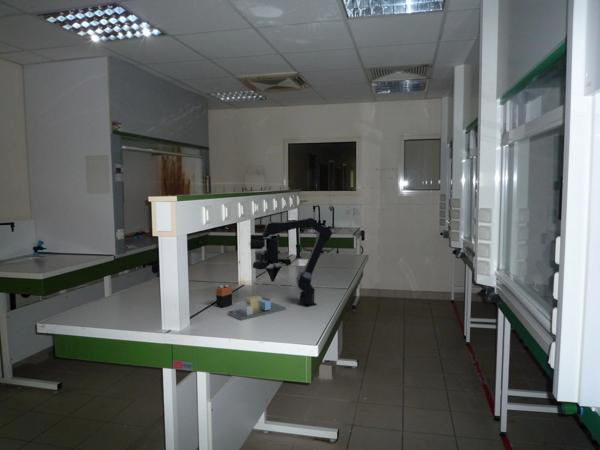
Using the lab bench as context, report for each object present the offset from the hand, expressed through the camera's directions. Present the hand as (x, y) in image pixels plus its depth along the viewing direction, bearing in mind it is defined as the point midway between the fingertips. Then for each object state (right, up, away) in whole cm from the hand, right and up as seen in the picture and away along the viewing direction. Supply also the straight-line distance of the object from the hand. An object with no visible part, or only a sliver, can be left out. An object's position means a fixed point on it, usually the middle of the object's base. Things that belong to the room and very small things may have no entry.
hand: (272, 281), depth 198 cm
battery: (-23, -12, +2) cm, 26 cm away
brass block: (-8, -12, -10) cm, 17 cm away
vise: (-7, -13, -9) cm, 17 cm away
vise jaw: (-4, -11, -6) cm, 13 cm away
